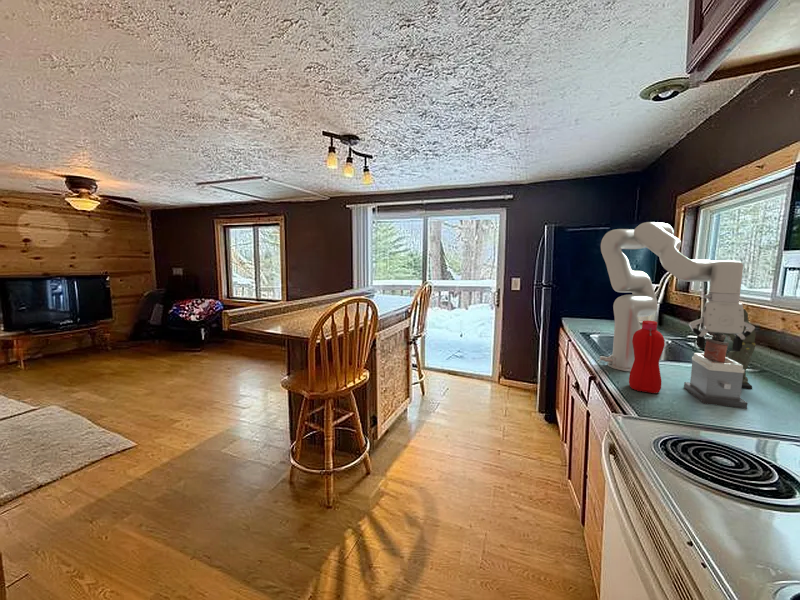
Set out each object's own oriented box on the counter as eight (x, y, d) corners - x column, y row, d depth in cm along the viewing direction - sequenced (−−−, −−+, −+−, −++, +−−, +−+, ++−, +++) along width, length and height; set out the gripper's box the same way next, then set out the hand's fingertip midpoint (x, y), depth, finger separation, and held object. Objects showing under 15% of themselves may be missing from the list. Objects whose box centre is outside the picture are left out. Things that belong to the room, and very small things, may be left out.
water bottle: (630, 392, 125) (636, 322, 123) (627, 383, 135) (632, 318, 132) (662, 397, 121) (669, 325, 118) (657, 387, 131) (663, 320, 128)
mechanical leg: (764, 390, 125) (758, 305, 129) (740, 389, 127) (735, 305, 130) (736, 386, 139) (731, 309, 142) (714, 385, 140) (710, 309, 144)
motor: (704, 403, 116) (708, 363, 114) (683, 387, 131) (687, 351, 129) (747, 408, 112) (752, 367, 111) (721, 391, 127) (725, 354, 126)
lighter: (728, 365, 116) (733, 335, 115) (716, 364, 117) (721, 334, 116) (710, 359, 124) (715, 331, 123) (699, 358, 125) (704, 330, 124)
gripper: (696, 298, 117) (691, 349, 119) (764, 300, 111) (757, 354, 113) (687, 296, 124) (682, 344, 126) (750, 298, 118) (744, 348, 120)
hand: (718, 349), depth 120 cm, fingers open, 9 cm apart
